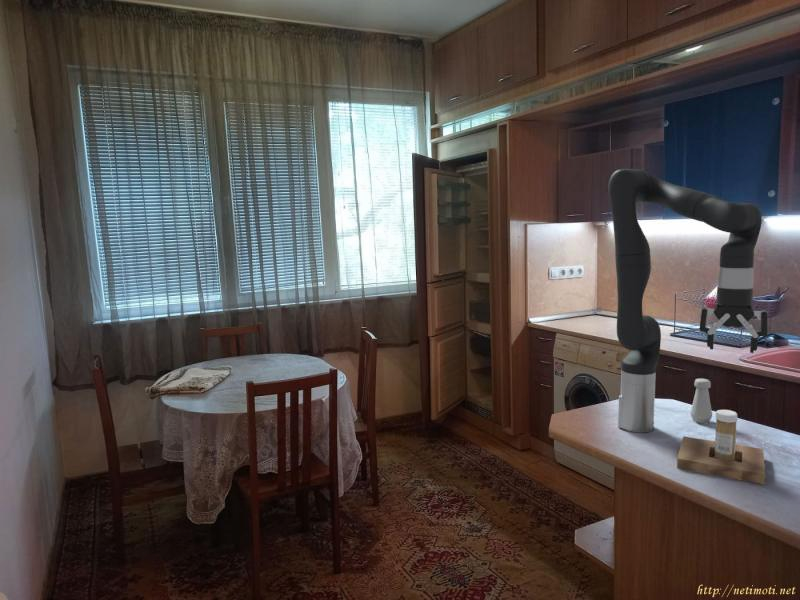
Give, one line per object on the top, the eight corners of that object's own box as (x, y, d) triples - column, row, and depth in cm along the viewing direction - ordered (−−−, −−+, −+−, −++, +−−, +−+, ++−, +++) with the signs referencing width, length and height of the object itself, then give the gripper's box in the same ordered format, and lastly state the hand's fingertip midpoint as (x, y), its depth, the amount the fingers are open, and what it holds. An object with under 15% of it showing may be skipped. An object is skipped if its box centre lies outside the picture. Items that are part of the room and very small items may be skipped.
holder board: (676, 467, 134) (677, 458, 134) (683, 445, 148) (683, 436, 147) (764, 484, 125) (765, 474, 124) (762, 458, 138) (763, 449, 138)
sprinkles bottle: (738, 464, 135) (741, 412, 133) (729, 469, 133) (731, 416, 131) (719, 458, 139) (721, 407, 137) (709, 463, 136) (712, 411, 135)
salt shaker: (709, 418, 166) (712, 377, 164) (713, 425, 161) (716, 382, 159) (688, 417, 168) (690, 376, 166) (691, 423, 163) (693, 381, 161)
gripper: (700, 286, 134) (697, 351, 136) (770, 288, 126) (766, 356, 128) (702, 283, 140) (699, 345, 142) (769, 285, 132) (765, 350, 135)
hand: (731, 350), depth 135 cm, fingers open, 8 cm apart
